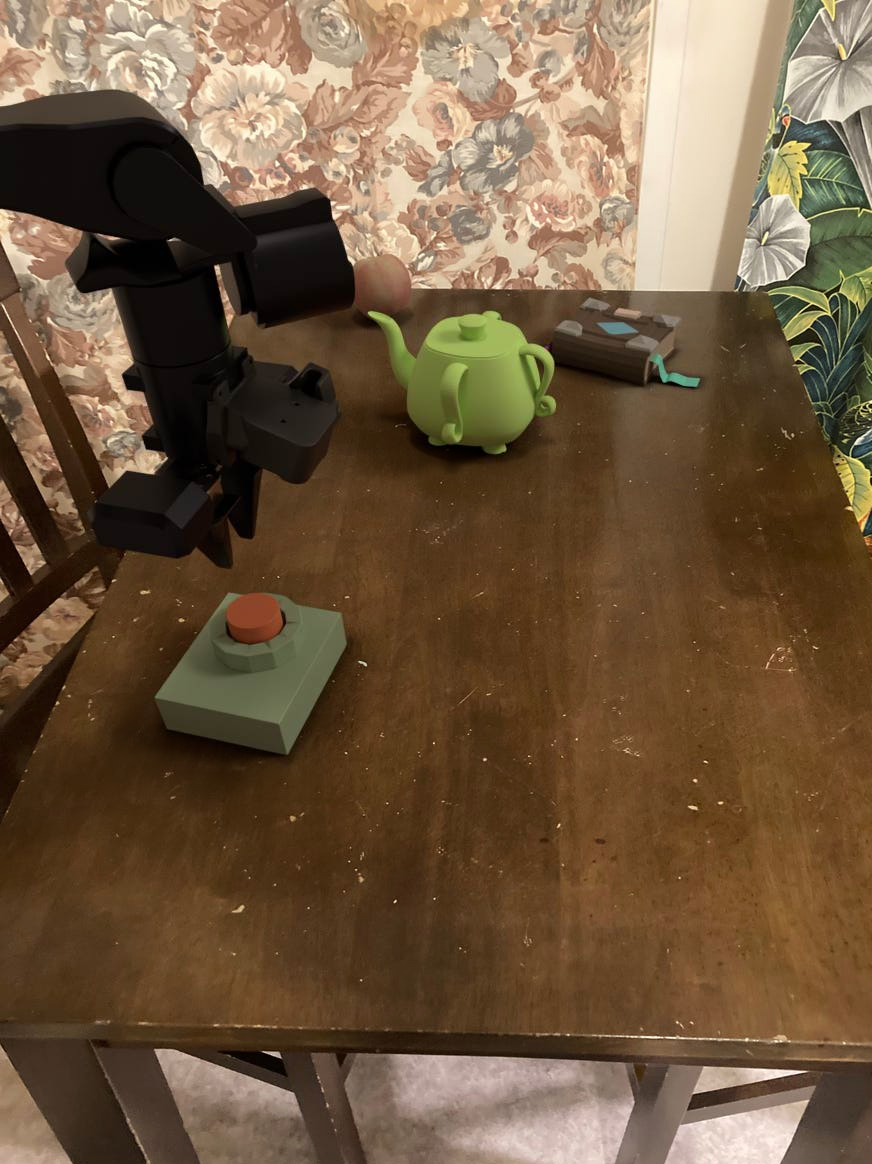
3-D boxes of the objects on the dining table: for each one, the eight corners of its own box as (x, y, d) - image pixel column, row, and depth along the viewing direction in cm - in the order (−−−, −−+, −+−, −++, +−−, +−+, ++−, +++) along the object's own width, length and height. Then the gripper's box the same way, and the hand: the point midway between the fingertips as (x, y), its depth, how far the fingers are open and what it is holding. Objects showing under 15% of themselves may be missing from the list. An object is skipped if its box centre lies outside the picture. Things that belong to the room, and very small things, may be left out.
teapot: (420, 483, 91) (412, 369, 82) (378, 415, 100) (366, 306, 91) (564, 448, 95) (570, 335, 86) (510, 385, 104) (511, 278, 95)
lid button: (269, 649, 67) (265, 632, 66) (221, 640, 68) (216, 623, 66) (291, 613, 70) (287, 597, 68) (244, 605, 70) (240, 588, 69)
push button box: (287, 756, 66) (274, 707, 62) (166, 729, 68) (146, 680, 64) (347, 645, 74) (338, 595, 70) (237, 624, 76) (223, 575, 72)
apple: (411, 302, 121) (406, 242, 115) (416, 328, 115) (411, 265, 110) (351, 307, 120) (344, 246, 114) (354, 333, 114) (346, 270, 109)
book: (723, 354, 109) (731, 314, 105) (687, 399, 101) (694, 358, 98) (575, 320, 116) (577, 282, 112) (532, 360, 109) (533, 320, 105)
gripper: (234, 447, 44) (286, 664, 55) (366, 291, 57) (387, 493, 68) (40, 419, 47) (127, 633, 58) (208, 275, 59) (254, 473, 70)
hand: (236, 551), depth 63 cm, fingers open, 3 cm apart
